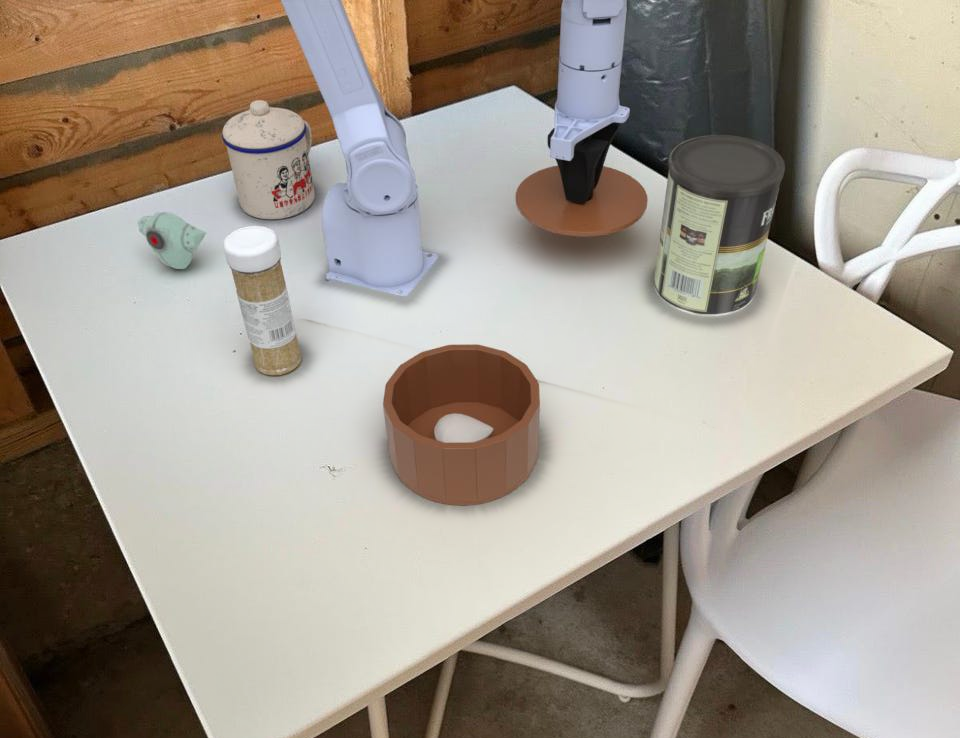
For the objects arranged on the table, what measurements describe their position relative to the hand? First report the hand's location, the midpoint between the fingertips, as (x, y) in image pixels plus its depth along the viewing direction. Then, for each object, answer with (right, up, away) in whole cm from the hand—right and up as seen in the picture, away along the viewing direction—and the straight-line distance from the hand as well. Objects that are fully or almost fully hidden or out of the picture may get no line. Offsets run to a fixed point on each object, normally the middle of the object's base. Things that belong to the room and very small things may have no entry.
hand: (581, 193), depth 94 cm
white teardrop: (-12, -26, -16) cm, 32 cm away
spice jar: (-29, -18, -7) cm, 35 cm away
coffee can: (+12, -10, 0) cm, 16 cm away
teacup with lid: (-33, +4, +14) cm, 36 cm away
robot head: (-42, -7, +4) cm, 43 cm away
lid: (0, -1, +1) cm, 1 cm away
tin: (-12, -26, -15) cm, 33 cm away
